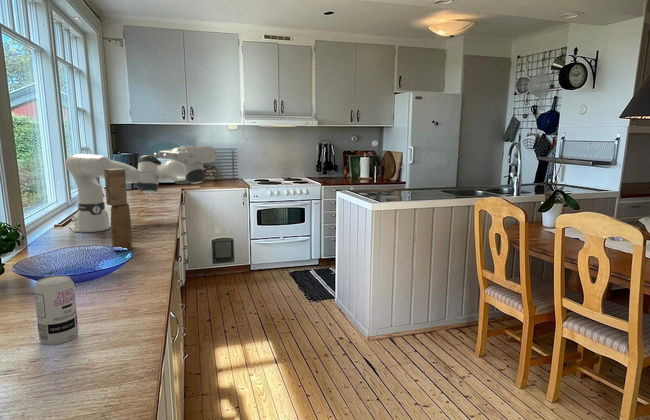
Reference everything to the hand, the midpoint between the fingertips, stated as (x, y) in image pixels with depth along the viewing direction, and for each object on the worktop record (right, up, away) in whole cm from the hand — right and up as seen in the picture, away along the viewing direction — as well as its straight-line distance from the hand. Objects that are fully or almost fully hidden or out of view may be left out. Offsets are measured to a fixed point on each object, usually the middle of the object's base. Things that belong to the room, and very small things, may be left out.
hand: (159, 155), depth 196 cm
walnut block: (-12, -23, -16) cm, 30 cm away
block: (-12, -43, -11) cm, 46 cm away
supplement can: (+11, -57, -92) cm, 109 cm away
